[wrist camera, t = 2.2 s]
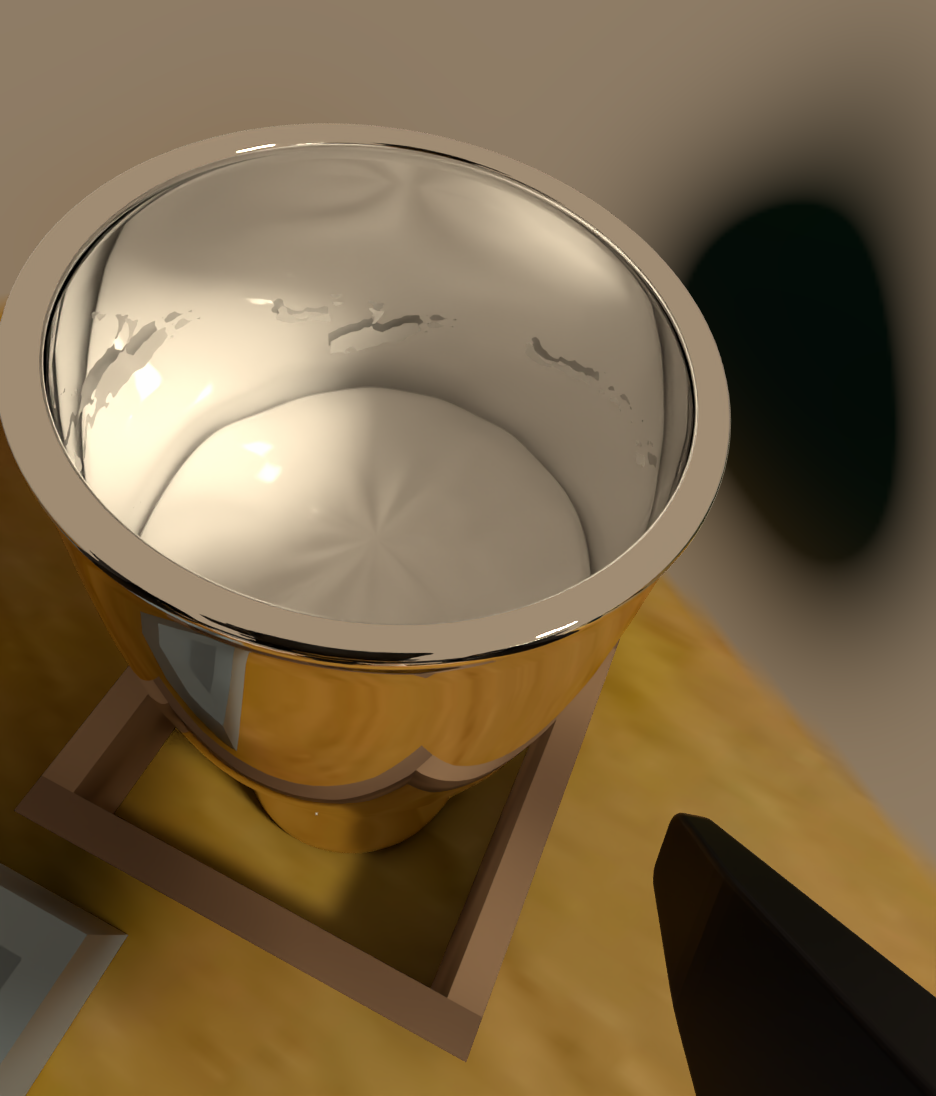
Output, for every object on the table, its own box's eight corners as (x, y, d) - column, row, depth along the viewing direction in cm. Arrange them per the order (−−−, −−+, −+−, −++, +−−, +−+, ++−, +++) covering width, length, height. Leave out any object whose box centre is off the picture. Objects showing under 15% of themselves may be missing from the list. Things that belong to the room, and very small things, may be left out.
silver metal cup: (193, 679, 19) (-107, 152, 6) (415, 589, 22) (525, 81, 9) (284, 928, 17) (87, 904, 4) (523, 794, 19) (906, 500, 6)
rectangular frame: (445, 1041, 16) (465, 1061, 13) (63, 830, 17) (13, 810, 14) (590, 662, 21) (624, 625, 19) (296, 517, 22) (290, 462, 20)
